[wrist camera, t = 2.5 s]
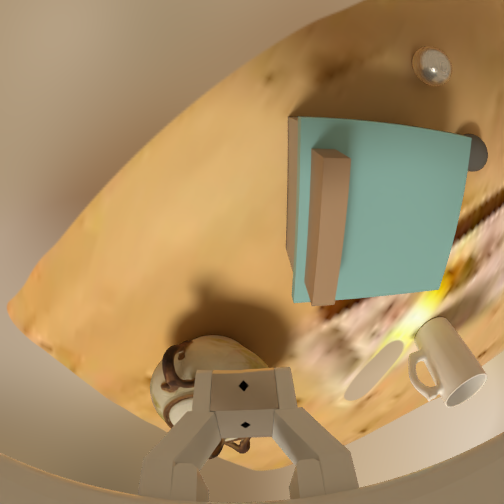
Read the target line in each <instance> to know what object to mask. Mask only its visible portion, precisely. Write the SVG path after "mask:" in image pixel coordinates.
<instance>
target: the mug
mask: <svg viewBox="0 0 504 504" xmlns="http://www.w3.org/2000/svg"><path fill="white" fill-rule="evenodd" d="M415 345H416V347H417V349H418V351H417V352H414V353H411V354H410V355H409V377H410V380H411V383H412V384H413V386H414V387H415V388H416V390H417V391H418V392H420V393H421V394H422V395H423V396H425V397H426V398H427V400H428V401H430V400H432V399H434V398H436V396H437V395H438V394H440V395H441V397H442V399H443V401H444V403H445V406H446V407H454V406H457V405H459V404H462V403H463V402H465V401H467V400H468V399H470V398H471V397H472V396H473V395H475V394H476V393H477V392H478V391H479V390H480V389H481V388H482V386H483V385H484V384H485V382H486V380H487V374H486V373H485V371H484V370H483V368H482V367H481V365H480V364H479V362H478V361H477V359H476V358H475V356H474V355H473V354H472V352H471V351H470V349H469V348H468V347H467V345H466V344H465V342H464V341H463V340H462V338H461V337H460V336H459V334H458V333H457V331H456V330H455V329H454V327H453V326H452V325H451V324H450V322H449V321H448V320H447V319H446V318H444V317H436V318H433V319H431V320H430V321H428V322H427V323H425V324H424V325H423V326H422V327H421V328H420V329H419V331H418V332H417V334H416V336H415ZM420 361H424V363H425V365H426V367H427V368H428V370H429V372H430V374H431V377H432V379H433V381H434V383H435V385H436V386H434V387H428V386H425V385H424V384H422V383H421V382H420V380H419V379H418V377H417V374H416V364H417V363H418V362H420Z"/></svg>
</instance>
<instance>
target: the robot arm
mask: <svg viewBox="0 0 504 504" xmlns="http://www.w3.org/2000/svg"><path fill="white" fill-rule="evenodd" d="M245 437H272V438H273V439H274V440H275V442H276V443H277V444H278V445H279V447H280V448H281V449H282V450H283V451H284V453H285V454H286V455H287V456H288V457H289V459H290V460H291V461H292V462H293V463H294V464H295V466H296V467H295V470H294V473H293V476H292V479H291V483H290V486H289V491H290V499H289V500H279V501H265V502H242V503H218V502H209V489H208V487H207V485H206V484H205V482H204V480H203V478H202V476H201V474H200V472H199V471H200V470H201V468H202V467H203V465H204V464H205V463H206V461H207V460H208V458H209V457H210V455H211V454H212V453H213V451H214V450H215V448H216V447H217V445H218V444H219V442H220V441H221V438H245ZM0 504H504V432H503V433H501V434H499V435H497V436H496V437H494V438H492V439H490V440H488V441H486V442H484V443H483V444H480V445H478V446H476V447H474V448H472V449H470V450H468V451H466V452H464V453H461V454H459V455H457V456H455V457H452V458H450V459H448V460H445V461H443V462H440V463H438V464H435V465H433V466H430V467H428V468H425V469H422V470H419V471H417V472H413V473H410V474H408V475H404V476H401V477H398V478H394V479H391V480H388V481H384V482H381V483H377V484H373V485H369V486H365V487H361V488H359V486H358V481H357V477H356V473H355V469H354V465H353V461H352V457H351V453H350V451H349V450H348V449H347V448H346V447H345V446H343V445H342V444H341V443H340V442H339V441H338V440H337V439H336V438H335V437H333V436H332V435H331V434H330V433H329V432H328V431H327V430H326V429H325V428H324V427H322V426H321V425H320V424H319V423H318V422H317V421H316V420H315V419H314V418H313V417H312V416H311V415H310V414H309V413H308V412H307V411H305V410H304V409H303V408H302V407H297V402H296V396H295V390H294V384H293V379H292V373H291V369H290V367H280V368H261V369H244V370H197V372H196V375H195V385H194V394H193V404H192V411H187V412H186V413H185V414H184V415H183V417H182V418H181V419H180V420H179V421H178V422H177V423H176V424H175V425H174V426H173V427H172V428H171V430H170V431H169V432H168V433H167V434H166V435H165V436H164V437H163V438H162V439H161V440H160V441H159V442H158V444H157V445H156V446H155V447H154V448H153V449H152V450H151V451H150V452H149V453H148V454H147V455H146V456H145V457H144V459H143V465H142V470H141V477H140V483H139V490H138V495H133V494H128V493H123V492H118V491H113V490H108V489H104V488H100V487H96V486H92V485H88V484H84V483H80V482H77V481H74V480H70V479H67V478H64V477H61V476H57V475H54V474H51V473H49V472H46V471H43V470H40V469H37V468H35V467H32V466H30V465H27V464H25V463H22V462H20V461H18V460H15V459H13V458H11V457H8V456H6V455H4V454H2V453H0Z"/></svg>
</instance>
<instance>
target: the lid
mask: <svg viewBox="0 0 504 504" xmlns="http://www.w3.org/2000/svg"><path fill="white" fill-rule="evenodd" d="M471 140H472V138H470V137H467V136H464V135H459V134H455V133H450V132H444V131H439V130H434V129H428V128H422V127H415V126H408V125H401V124H394V123H386V122H377V121H367V120H356V119H343V118H327V117H302V116H298V150H297V195H296V224H295V247H294V267H293V285H292V298H293V302H294V303H301V302H311V305H312V306H321V305H334V303H335V300H342V299H354V298H365V297H376V296H386V295H395V294H405V293H413V292H422V291H430V290H438V289H439V287H440V284H441V281H442V277H443V274H444V271H445V268H446V264H447V261H448V258H449V254H450V251H451V247H452V243H453V239H454V235H455V231H456V227H457V223H458V219H459V214H460V210H461V205H462V200H463V195H464V189H465V184H466V178H467V171H468V165H469V157H470V149H471Z"/></svg>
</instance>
